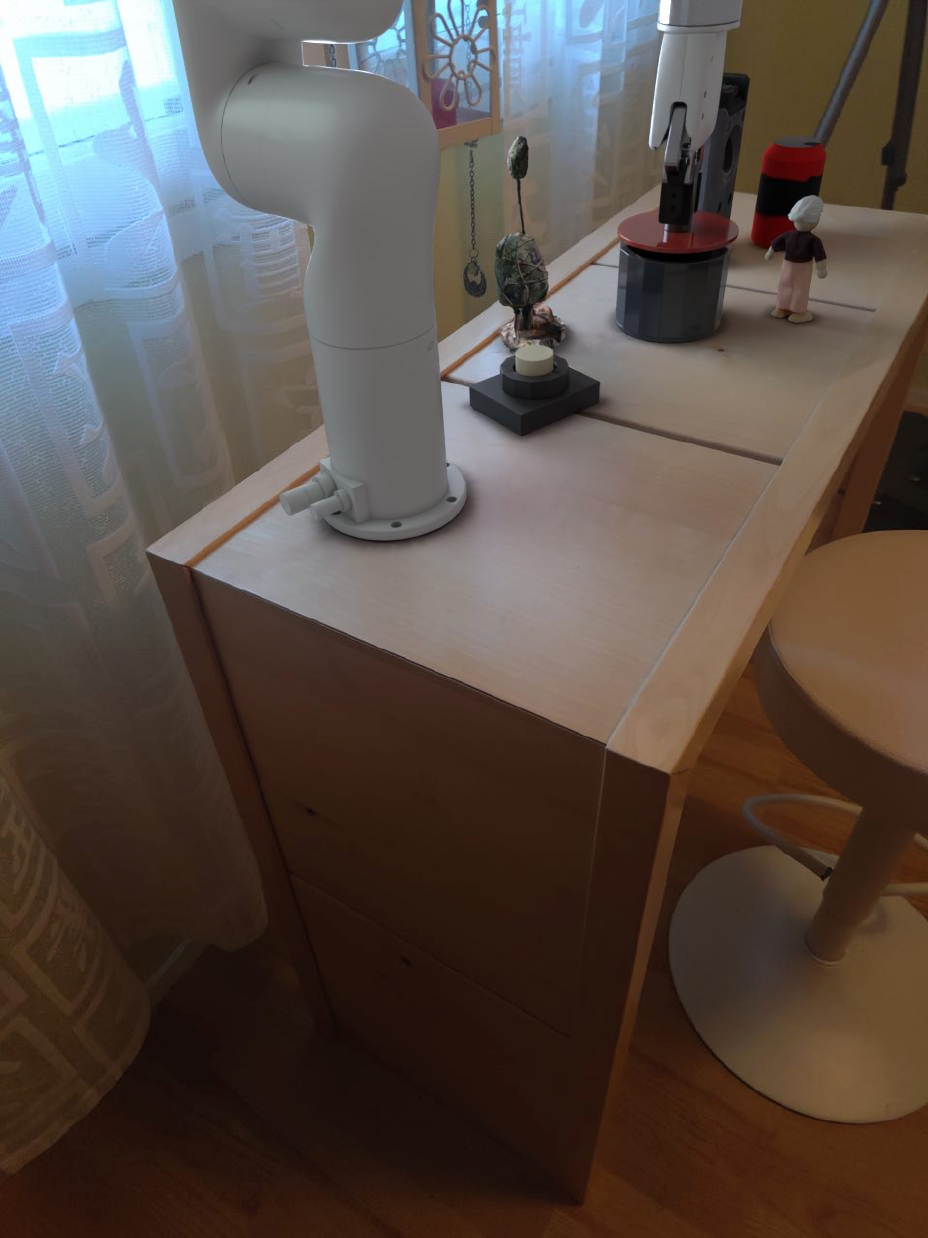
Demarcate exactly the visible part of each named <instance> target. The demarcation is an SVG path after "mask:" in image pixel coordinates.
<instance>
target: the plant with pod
mask: <svg viewBox="0 0 928 1238" xmlns="http://www.w3.org/2000/svg"><path fill="white" fill-rule="evenodd" d="M529 150H530V148H529V144H528V140H527V137H525V136H523V135H517V137H516V139H515V140H514V141H513V143H512V144H511V146H510V148H509V150H508V152H507V159H506V163H507V169H508V172H509V175H510V177H511V178H512V179H513V180H516V192H517V199H518V200H517V203H518V206H519V207H518V210H519V218H520V225H521V231H517V232H515V233H509V234H507V235H506V236H504V237H503V238H501V240H500V241H499V242H498V243H497V244H496V248H495V257H494V258H495V259H494V267H493V268H494V269H493V271H494V276H495V280H496V292H497V295H498V302H499V304H500V305H502V306H503V307H509V308H511V309H512V310H513V314H514V315H513V316H514V317H513V318H511V321H510V322H508V323H507V324H504V325H503V326H501V327H500V330H499V329H498V330H497V332H498V334H499V336H500V339H501V341H502V343H503V345H505V347H506V348H508V349H511V350H514V351H517V350H518V349H520V348H521V347H524V346H528V345H542V346H546V347H549V348H551V349H552V350H553V351H554V350H555V349H556V348H559V347H560V345H561V343H562V342H563V340H565V337H567V336H568V335H566V332H565V331H566V329H565V327H566V326H567V325H566V324H565V321H564V320H562V319H561V317H558V316H557V315H554V312H553V310H552V309H551V307H550V306H549V305H541V306H539V308H538V309H534V306H536V304H537V303H543V302H545V301H546V299H547V297H548V293H549V287H550V285H549V271H547V268H546V264H545V259H543V256H542V253H541V250H540V248H539V246H538V245H537V242H536V240H535V237H533V236H532V235H530V234H528V233H527V234H526V231H525V221H524V213H523V206H522V194H521V189H522V188H521V184H522V183H521V179H525V178H526V176H527V174H528V171H529V170H528V169H529ZM492 241H496V239H495V238H492Z"/></svg>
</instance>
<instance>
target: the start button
mask: <svg viewBox="0 0 928 1238" xmlns="http://www.w3.org/2000/svg"><path fill="white" fill-rule="evenodd" d="M554 354H555V353H554V349H553V350H552V349H551V348H549V347H546V346H542V345H528V346H524V347H521V348H520V349H518V350H515V355H516V372H517V373H519V374H521V375H525V376H532V377H533V376H543V375H546V374H549V373H551V372H552V371H553V357H554Z"/></svg>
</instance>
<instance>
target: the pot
mask: <svg viewBox="0 0 928 1238" xmlns="http://www.w3.org/2000/svg"><path fill="white" fill-rule="evenodd" d="M731 253H732V245H731V244H729V245H727V246H724V247H722V248H718V249H715V250H710V251H705V252H697V253H662V252H654V251H648V250H643V249H640V248H636V247H633V246H631V245H629V244H627V243H625V242H623V241H622V240H621V239H620V243H619V259H618V274H617V287H616V289H617V290H616V305H615V306H616V307H615V318H614V319H615V321H614V322H615V325H616V326H617V328H618V329H619V330H620V331H621V332H622V333H624V334H626V335H627V336H630V337H632V338H635V339H638V340H642V341H647V342H654V343H666V344H669V343H670V344H672V343H673V344H676V343H686V342H687V343H688V342H693V341H698V340H701V339H704V338H707V337H708V336H711V335H712V334H714V333H715V332H716V331H717V330H718V329H719V327H720V324H721V321H722V315H723V308H724V302H725V294H726V289H727V281H728V274H729V267H730V262H731V261H730V260H731Z"/></svg>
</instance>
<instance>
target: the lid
mask: <svg viewBox="0 0 928 1238" xmlns="http://www.w3.org/2000/svg"><path fill="white" fill-rule="evenodd" d="M681 159H685V163H686V162H687V157H683V158H681ZM699 165H700V161H699V160H698V159H695V158H694V165H693V173H692V180H691V183H694V190H693V199H692V208H691V217H690V222H689V223H688V225H685V226H684V225H672V224H661V223H659V221H658V217H659V210H652V211H646V212H642V213H638V214H633V215H631V216H629V217H627V218H625V219H624V220H622V221H621V222H620V223H619V224H618V227H617V237H618V238H619V239H620V241H621V240H622V241H623V242H625V243H627V244H629V245H631V246H633V247H636V248H640V249H643V250H648V251H654V252H662V253H697V252H705V251H710V250H715V249H718V248H722V247H724V246H727V245H729V244H730V245H731V244H732V243H734V242H735V241H736V240H737V239H738V238H739V233H740V227H739V225H738V223H736V222H735V221H734V220H732V219H731V218H730V219H728V218H726V217H724V216H721V215H718V214H714V213H709V212H703V211H697V212H696V213H695V214H694V208H695V199H696V191H697V182H698V173H699Z"/></svg>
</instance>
